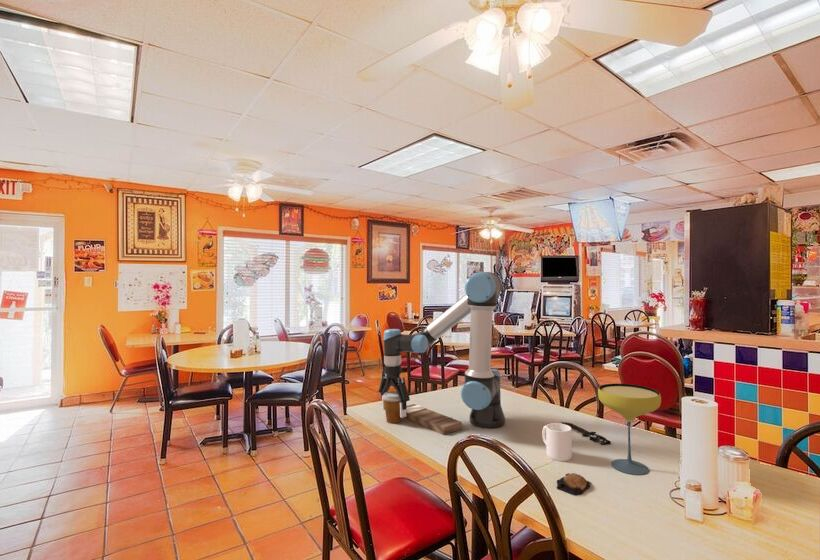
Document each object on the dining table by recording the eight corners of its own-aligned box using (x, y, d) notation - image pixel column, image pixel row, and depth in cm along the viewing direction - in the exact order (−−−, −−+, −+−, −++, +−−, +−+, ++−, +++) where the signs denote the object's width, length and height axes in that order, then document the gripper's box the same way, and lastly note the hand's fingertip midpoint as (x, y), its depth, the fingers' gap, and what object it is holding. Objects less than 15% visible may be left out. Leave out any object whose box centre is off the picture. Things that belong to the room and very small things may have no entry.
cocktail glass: (598, 452, 146) (596, 381, 145) (656, 459, 139) (655, 385, 139) (600, 474, 129) (599, 395, 129) (667, 485, 122) (666, 400, 122)
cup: (558, 463, 137) (558, 433, 137) (534, 450, 148) (533, 422, 148) (577, 458, 141) (576, 429, 141) (551, 446, 152) (551, 418, 152)
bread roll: (566, 476, 129) (566, 465, 129) (594, 485, 124) (593, 473, 124) (552, 489, 122) (551, 477, 122) (580, 499, 116) (580, 486, 116)
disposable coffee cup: (405, 417, 185) (405, 391, 185) (403, 425, 176) (402, 397, 176) (384, 417, 186) (384, 390, 186) (381, 424, 177) (380, 396, 177)
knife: (558, 423, 176) (558, 420, 176) (571, 422, 177) (571, 419, 177) (598, 447, 151) (598, 443, 151) (613, 445, 152) (613, 441, 152)
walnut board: (461, 429, 170) (461, 421, 170) (443, 435, 164) (443, 427, 164) (414, 410, 195) (413, 403, 195) (396, 414, 189) (396, 407, 189)
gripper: (417, 367, 173) (418, 418, 173) (384, 359, 193) (385, 404, 193) (402, 370, 169) (404, 422, 169) (370, 361, 188) (371, 408, 188)
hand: (394, 412), depth 181 cm, fingers open, 13 cm apart
